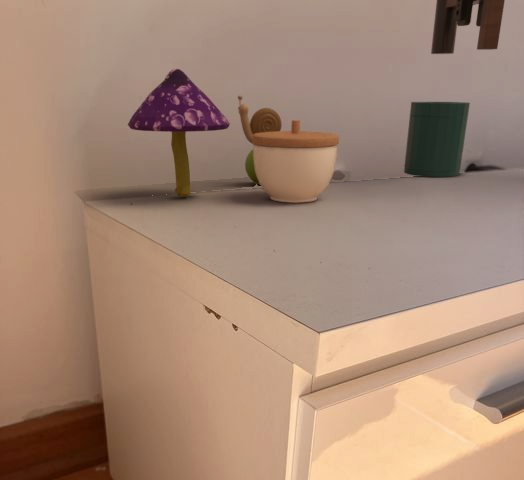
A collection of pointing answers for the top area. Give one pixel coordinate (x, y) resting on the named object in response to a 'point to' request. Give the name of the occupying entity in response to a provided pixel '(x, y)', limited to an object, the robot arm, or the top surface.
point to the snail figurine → (257, 130)
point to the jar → (436, 138)
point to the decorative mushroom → (178, 119)
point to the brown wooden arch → (448, 26)
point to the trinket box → (294, 163)
